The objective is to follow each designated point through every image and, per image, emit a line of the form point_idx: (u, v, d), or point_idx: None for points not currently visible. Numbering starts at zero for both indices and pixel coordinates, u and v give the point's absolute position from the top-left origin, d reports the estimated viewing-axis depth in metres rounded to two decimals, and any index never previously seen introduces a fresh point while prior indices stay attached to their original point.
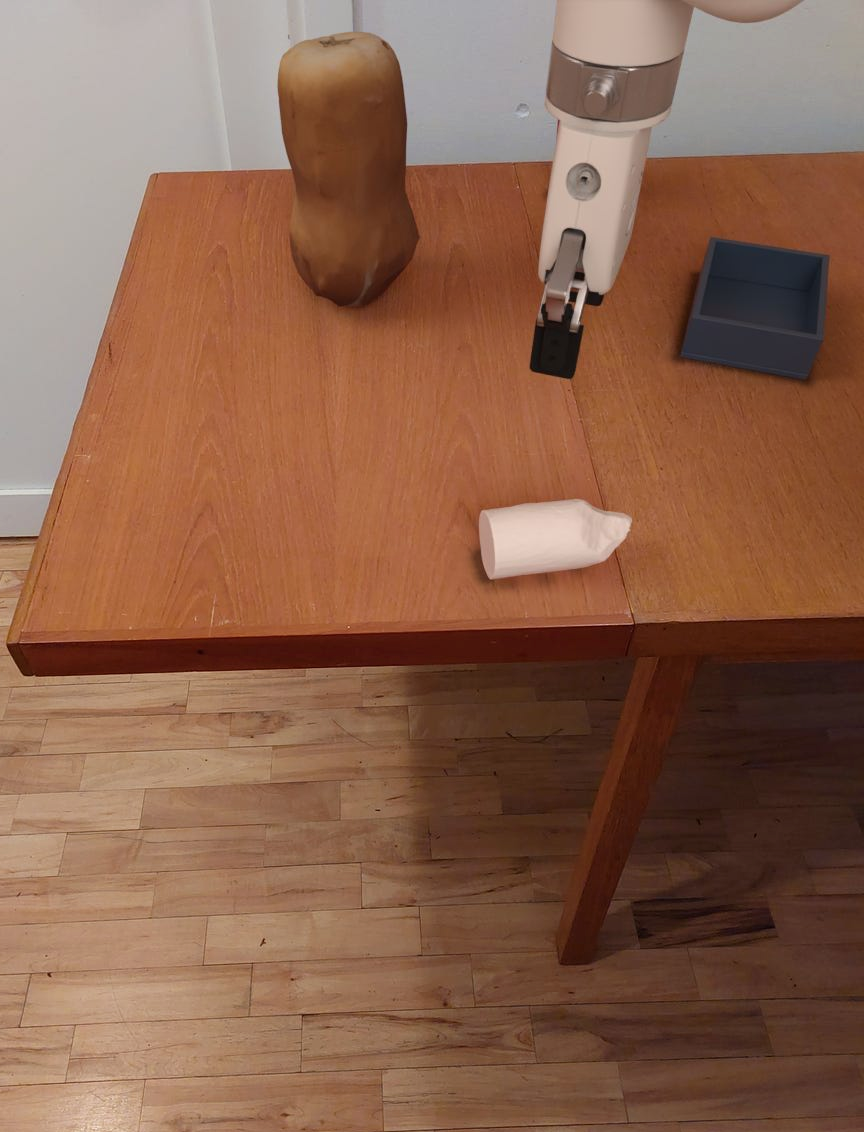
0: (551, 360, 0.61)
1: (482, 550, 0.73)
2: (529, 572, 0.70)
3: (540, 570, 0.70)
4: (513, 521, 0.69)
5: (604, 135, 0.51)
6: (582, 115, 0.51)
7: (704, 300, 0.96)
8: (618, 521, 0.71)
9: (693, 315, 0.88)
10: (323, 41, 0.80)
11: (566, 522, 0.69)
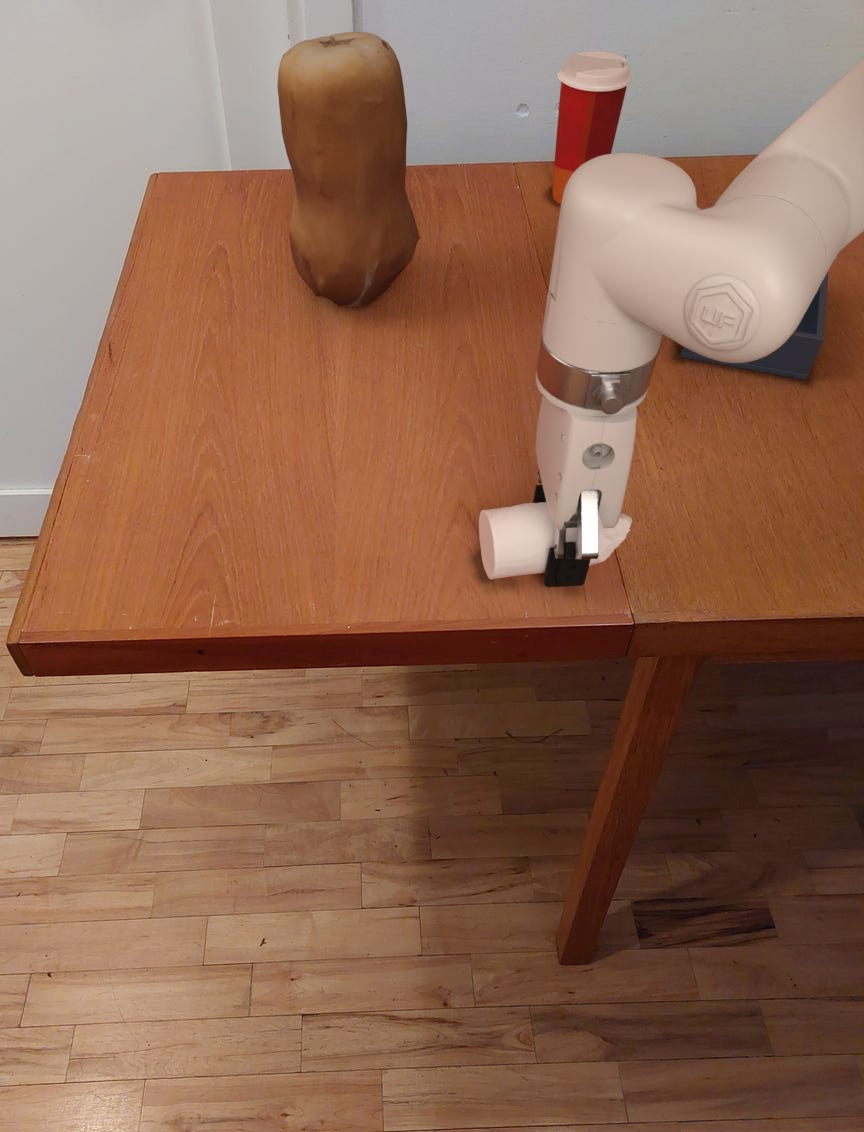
0: (567, 578, 0.69)
1: (482, 550, 0.73)
2: (529, 572, 0.70)
3: (540, 570, 0.70)
4: (513, 521, 0.69)
5: (614, 420, 0.57)
6: (591, 407, 0.57)
7: None
8: (618, 522, 0.71)
9: None
10: (323, 41, 0.80)
11: None
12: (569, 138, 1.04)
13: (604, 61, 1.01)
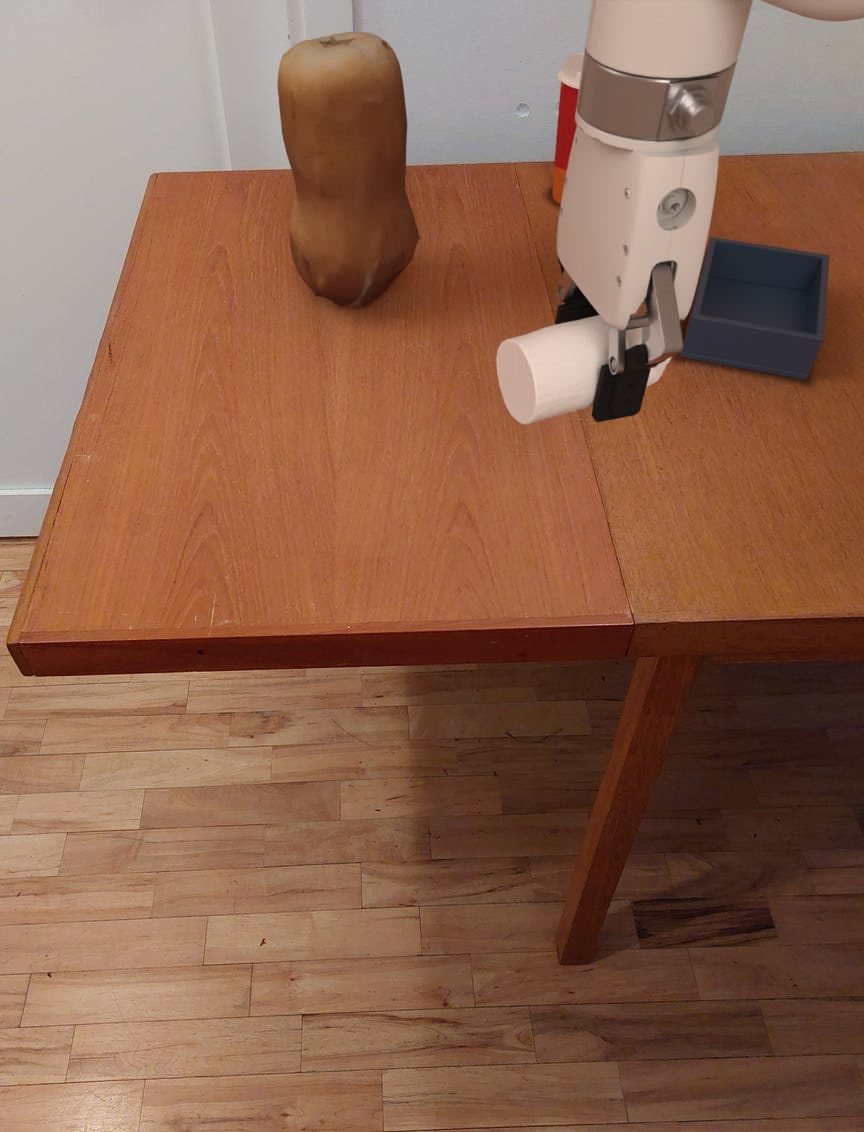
0: (625, 403, 0.56)
1: (506, 395, 0.59)
2: (573, 406, 0.57)
3: (586, 402, 0.57)
4: (549, 342, 0.55)
5: (695, 153, 0.45)
6: (666, 138, 0.44)
7: (704, 300, 0.96)
8: None
9: (693, 315, 0.88)
10: (323, 41, 0.80)
11: None
12: (569, 138, 1.04)
13: None
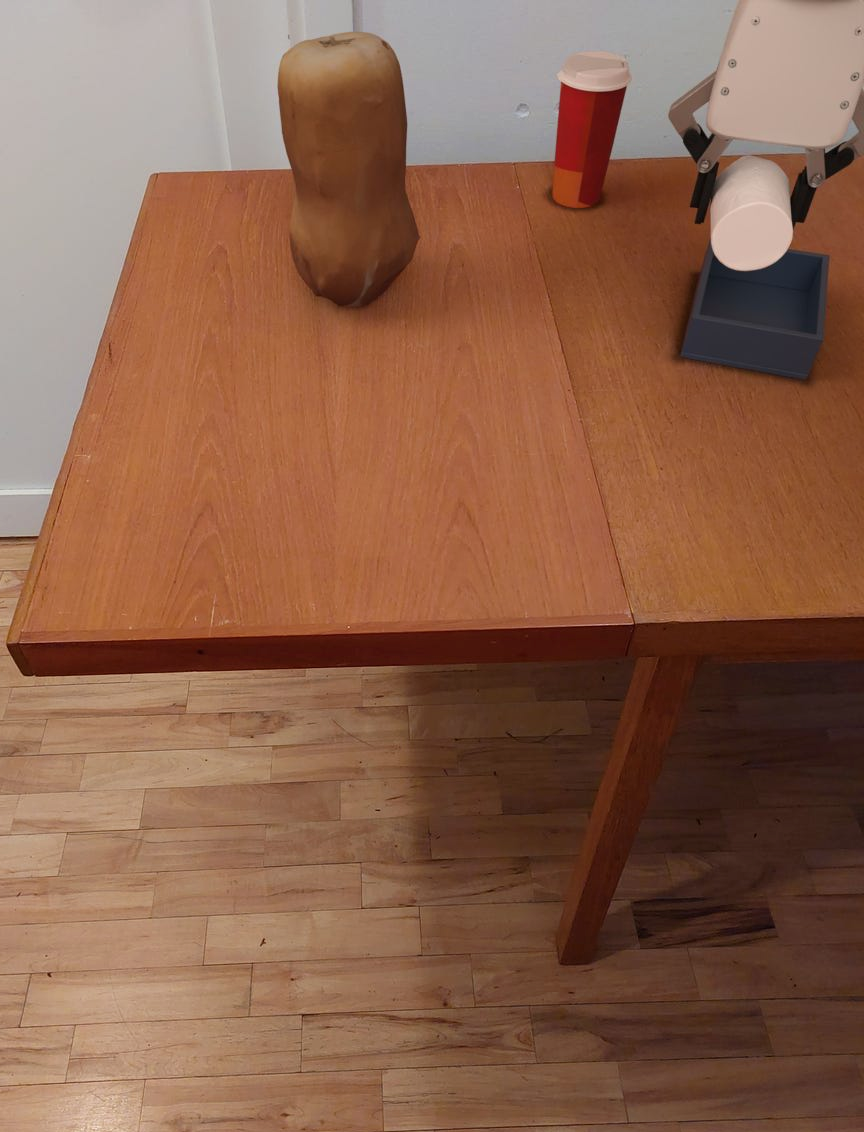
0: None
1: (730, 258, 0.69)
2: None
3: None
4: (769, 191, 0.67)
5: None
6: None
7: (704, 300, 0.96)
8: None
9: (693, 315, 0.88)
10: (323, 41, 0.80)
11: (775, 168, 0.69)
12: (569, 138, 1.04)
13: (604, 61, 1.01)
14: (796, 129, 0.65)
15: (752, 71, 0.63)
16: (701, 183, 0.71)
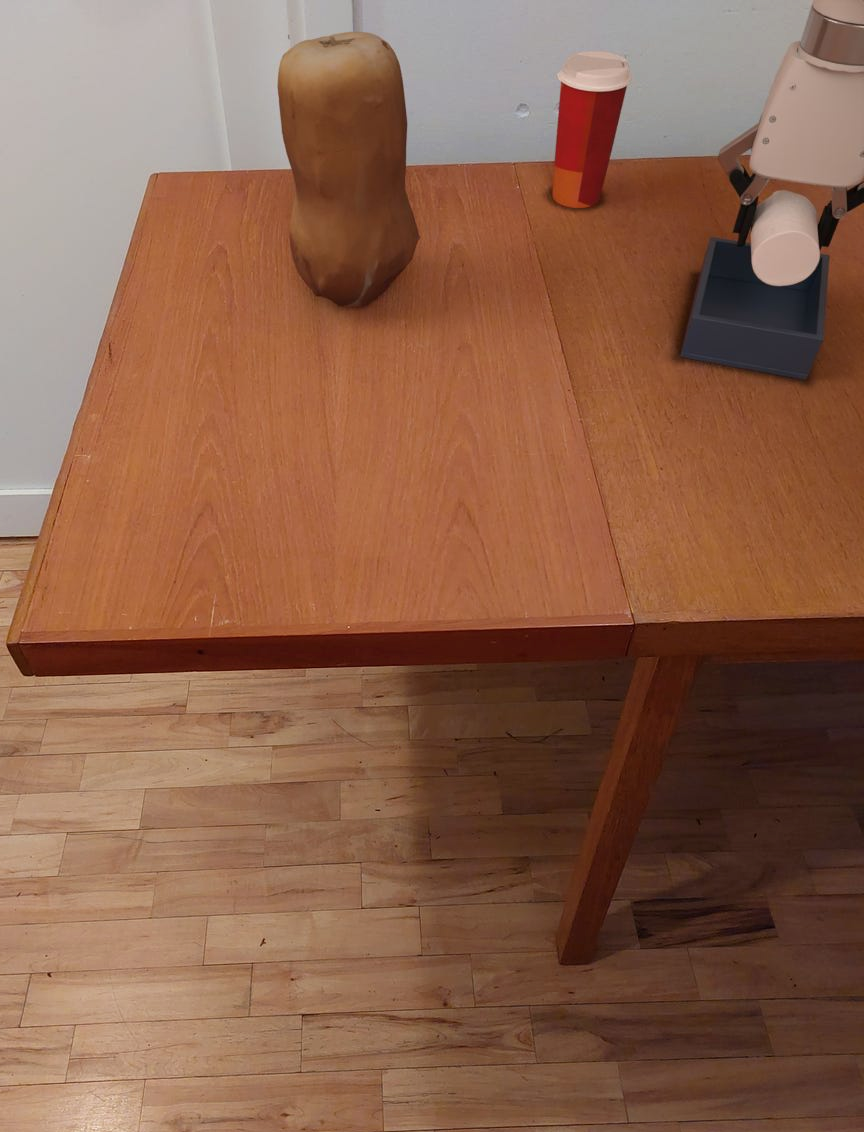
0: None
1: (767, 275, 0.84)
2: None
3: None
4: (801, 221, 0.81)
5: None
6: None
7: (704, 300, 0.96)
8: None
9: (693, 315, 0.88)
10: (323, 41, 0.80)
11: (805, 202, 0.84)
12: (569, 138, 1.04)
13: (604, 61, 1.01)
14: (823, 172, 0.80)
15: (789, 126, 0.78)
16: (743, 213, 0.86)
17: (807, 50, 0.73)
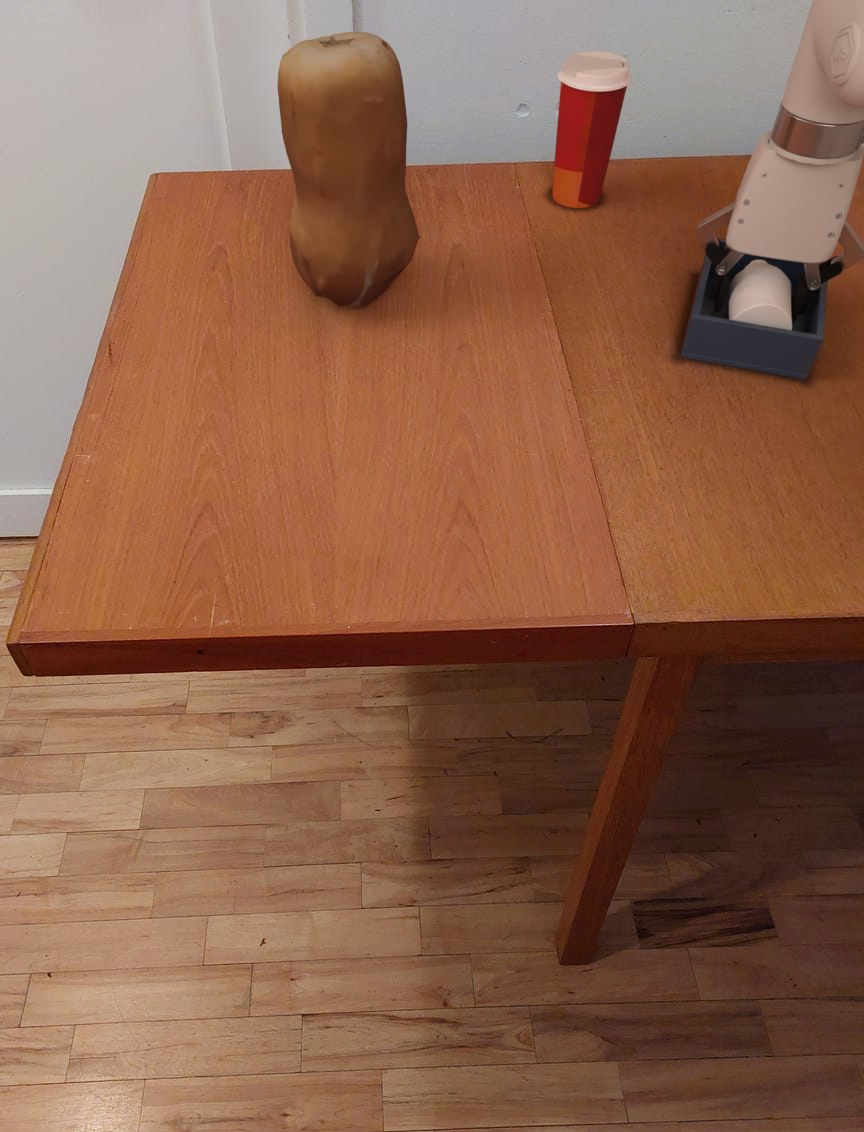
0: None
1: None
2: None
3: None
4: (774, 294, 0.87)
5: (860, 149, 0.80)
6: None
7: (704, 300, 0.96)
8: (766, 263, 0.93)
9: (693, 315, 0.88)
10: (323, 41, 0.80)
11: (780, 274, 0.89)
12: (569, 138, 1.04)
13: (604, 61, 1.01)
14: (795, 250, 0.85)
15: (761, 208, 0.83)
16: (719, 282, 0.91)
17: (777, 143, 0.79)
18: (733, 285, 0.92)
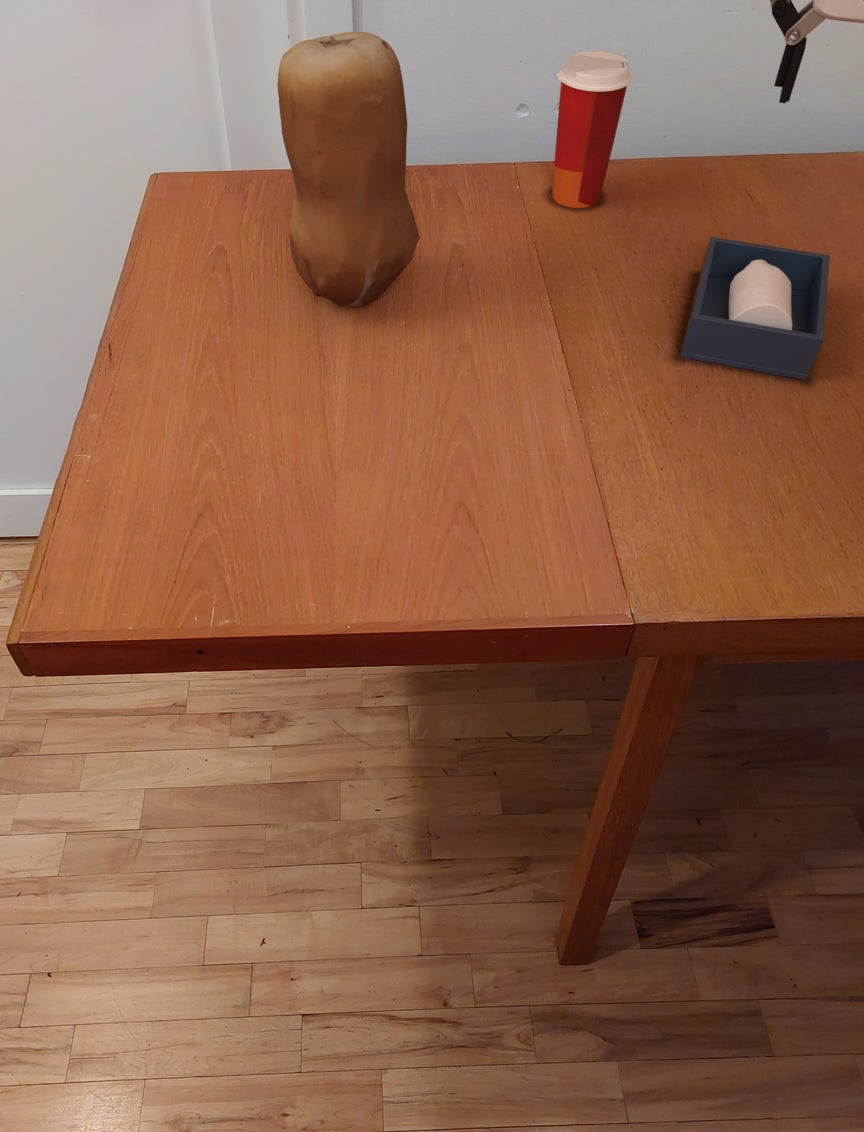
0: None
1: None
2: None
3: None
4: (774, 294, 0.87)
5: None
6: None
7: (704, 300, 0.96)
8: (766, 263, 0.93)
9: (693, 315, 0.88)
10: (323, 41, 0.80)
11: (780, 274, 0.89)
12: (569, 138, 1.04)
13: (604, 61, 1.01)
14: None
15: None
16: (788, 58, 0.70)
17: None
18: (733, 285, 0.92)
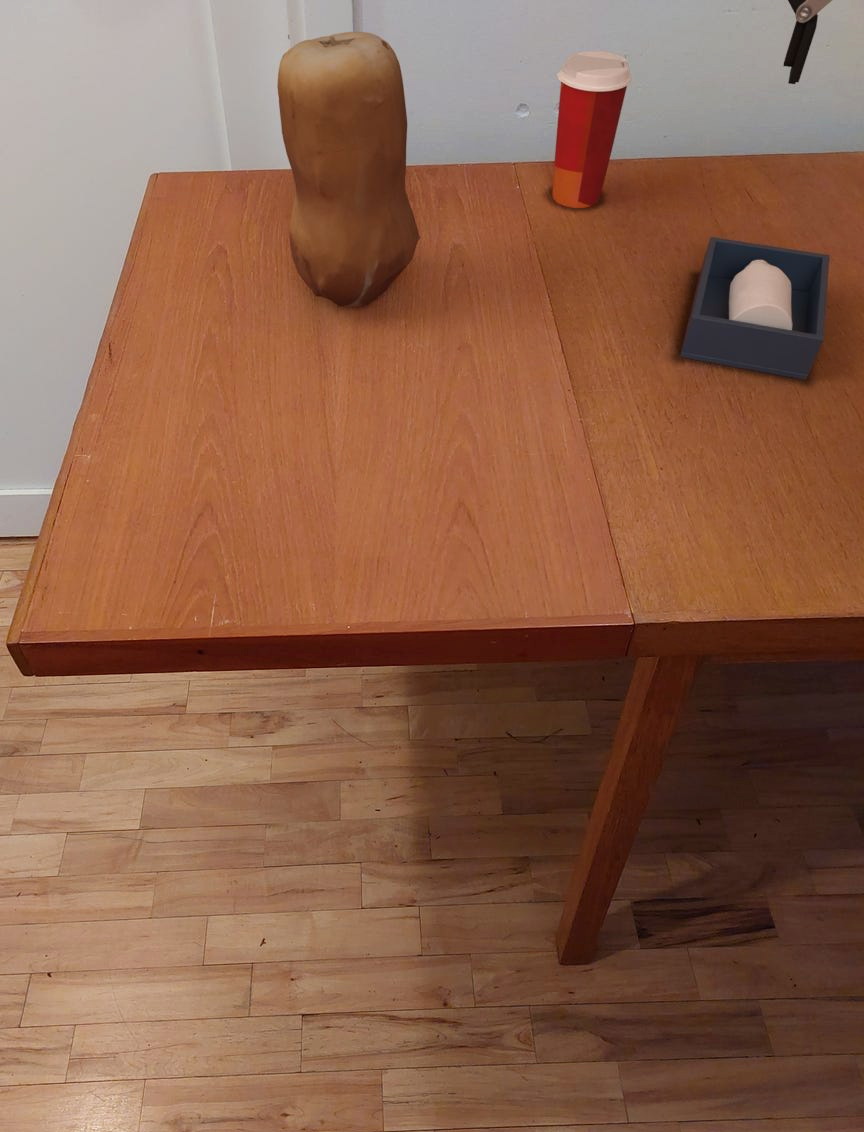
0: None
1: None
2: None
3: None
4: (774, 294, 0.87)
5: None
6: None
7: (704, 300, 0.96)
8: (766, 263, 0.93)
9: (693, 315, 0.88)
10: (323, 41, 0.80)
11: (780, 274, 0.89)
12: (569, 138, 1.04)
13: (604, 61, 1.01)
14: None
15: None
16: (798, 36, 0.66)
17: None
18: (733, 285, 0.92)
